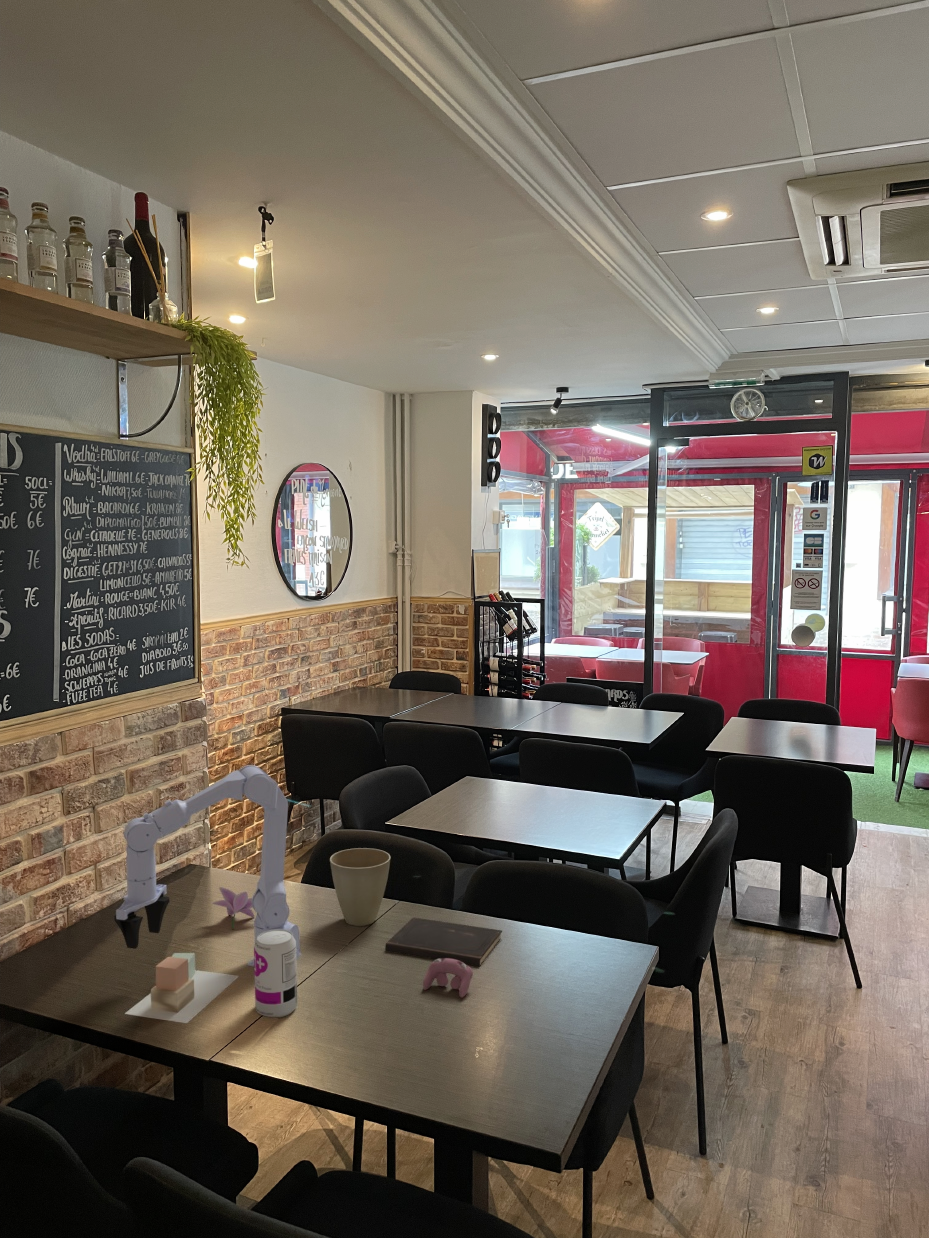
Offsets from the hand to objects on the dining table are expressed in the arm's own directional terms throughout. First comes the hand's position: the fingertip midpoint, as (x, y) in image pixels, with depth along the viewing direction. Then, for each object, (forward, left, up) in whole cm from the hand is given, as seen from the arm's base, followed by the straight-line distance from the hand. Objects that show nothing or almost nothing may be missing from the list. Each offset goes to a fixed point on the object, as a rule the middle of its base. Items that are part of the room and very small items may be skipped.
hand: (143, 939), depth 188 cm
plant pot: (-31, -44, -11) cm, 55 cm away
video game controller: (-62, -16, -11) cm, 65 cm away
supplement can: (-31, +1, -11) cm, 33 cm away
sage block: (-6, -5, -10) cm, 12 cm away
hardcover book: (-55, -36, -11) cm, 67 cm away
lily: (-2, -35, -11) cm, 37 cm away
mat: (-10, +1, -10) cm, 14 cm away
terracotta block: (-10, +5, -6) cm, 13 cm away
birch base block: (-10, +5, -10) cm, 15 cm away
